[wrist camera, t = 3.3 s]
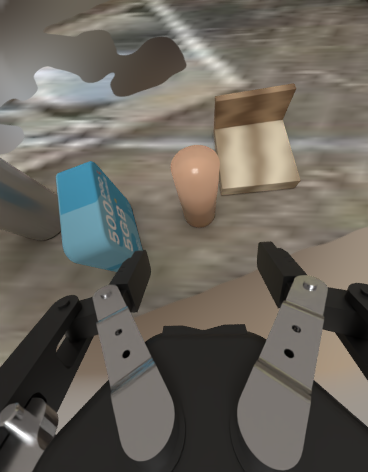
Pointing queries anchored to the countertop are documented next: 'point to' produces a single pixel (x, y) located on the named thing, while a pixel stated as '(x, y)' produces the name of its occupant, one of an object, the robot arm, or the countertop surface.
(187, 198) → the peach dome-topped cylinder
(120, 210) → the data package
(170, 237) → the countertop surface
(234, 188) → the wooden l-shaped stand
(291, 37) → the countertop surface
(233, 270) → the countertop surface
